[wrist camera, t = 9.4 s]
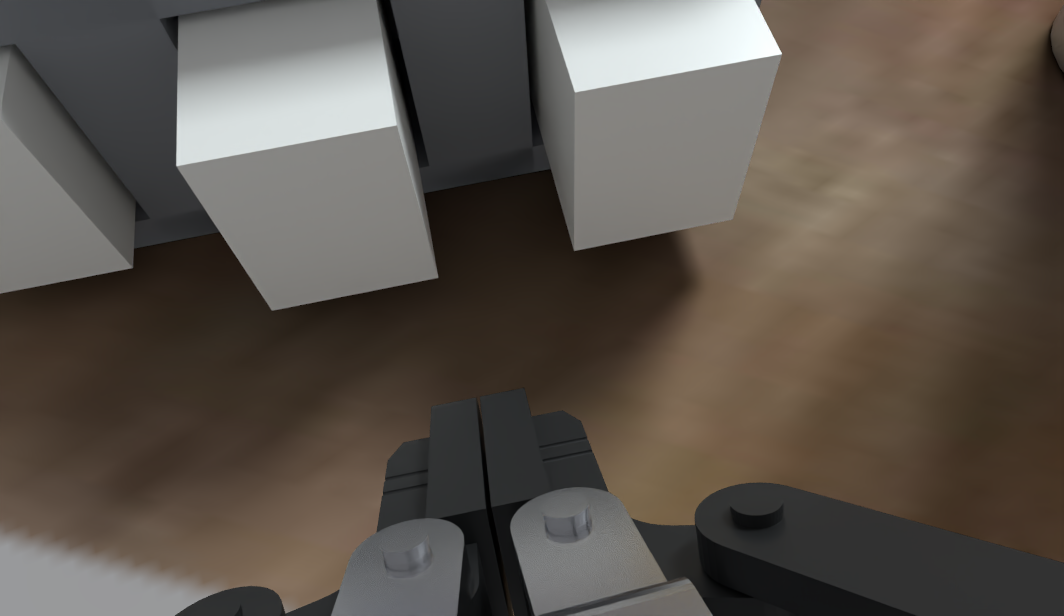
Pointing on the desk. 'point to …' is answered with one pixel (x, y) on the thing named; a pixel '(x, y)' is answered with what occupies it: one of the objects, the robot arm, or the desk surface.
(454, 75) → the button panel
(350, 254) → the middle button
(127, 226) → the white rectangular block
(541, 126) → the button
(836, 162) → the desk surface
